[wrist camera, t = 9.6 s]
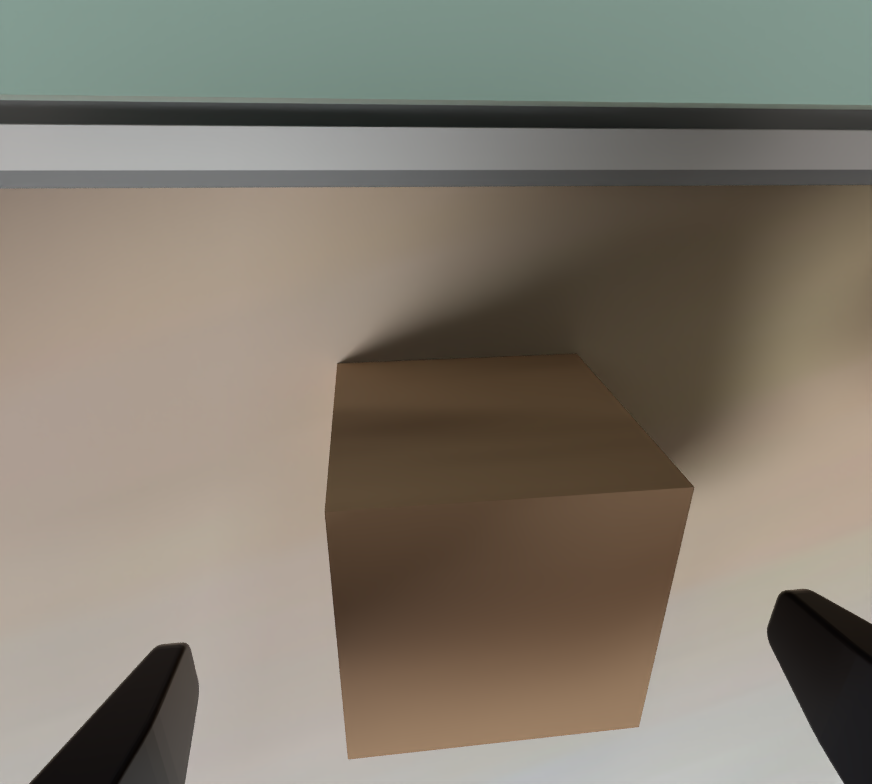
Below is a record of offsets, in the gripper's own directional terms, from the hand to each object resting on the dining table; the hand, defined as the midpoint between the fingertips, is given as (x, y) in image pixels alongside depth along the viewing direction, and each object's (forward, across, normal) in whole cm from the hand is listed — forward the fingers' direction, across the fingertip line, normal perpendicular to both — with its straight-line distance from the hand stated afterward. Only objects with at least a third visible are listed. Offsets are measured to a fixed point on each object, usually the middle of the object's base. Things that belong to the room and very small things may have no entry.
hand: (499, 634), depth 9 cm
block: (+5, 0, 0) cm, 5 cm away
